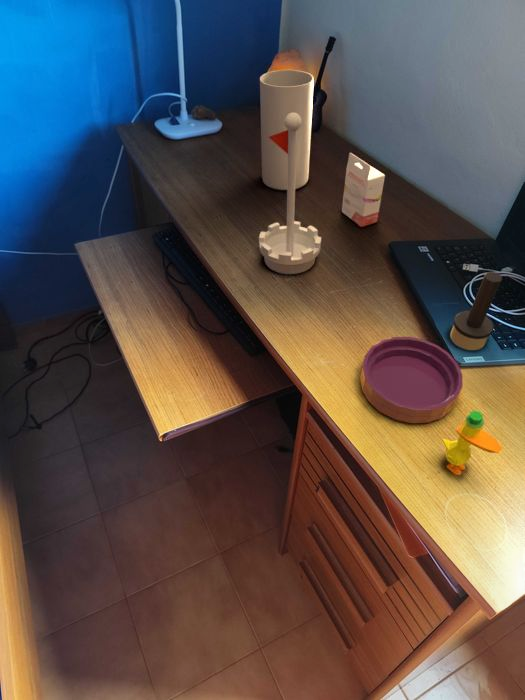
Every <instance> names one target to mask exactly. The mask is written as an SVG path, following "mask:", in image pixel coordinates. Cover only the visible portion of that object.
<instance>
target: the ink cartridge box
mask: <svg viewBox="0 0 525 700" xmlns="http://www.w3.org/2000/svg"><path fill="white" fill-rule="evenodd" d="M385 178H386V175H385V174H384V173H382V172H381V171H379V170H378V169H376V168H375V167H373V166H371V165H370V164H368V163H367V162H366V161H365V160H362V159H361V158H359V157H358V156H357V155H355V154H353V153H352V152H349V154H348V159H347V165H346V170H345V179H344V186H343V187H344V188H343V197H342V205H341V206H342V207H341V212H342V214H344V215H345V216H346V217H348V218H349V219H350V220H352V221H353V222H354V223H356V225H358V226H359V227H361V228H363V227H366V226H369V225H372V224H375V223H378V219H379V213H380V208H381V202H382V195H383V189H384V183H385Z"/></svg>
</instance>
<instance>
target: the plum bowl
mask: <svg viewBox="0 0 525 700" xmlns="http://www.w3.org/2000/svg"><path fill="white" fill-rule="evenodd" d="M463 381H464V379H463V373H462V370H461V368H460V366H459V363H458V362H457V361H456V360H455V359H454V358H453V356H452V355H451V354H450V353H449V352H448V351H446V350H445V349H444V348H442V347H440V345H438V344H435V343H432V342H430V341H428V340H425V339H423V338H417V337H413V336H393V337H389V338H386V339H382V340H380V341H378V342H377V343H375V344H374V345H372V346H371V347H370V348H369V349H368V351H367V352H366V353H365V355H364V358H363V363H362V367H361V373H360V377H359V383H360V387H361V391H362V393H363V394H364V396H365V398H366V399H367V401H368V403H369V404H370V405H372V406H373V407H374V408H375V409H376V410H377V411H379V412H380V413H382V414H384V415H386V416H387V417H390V418H391V419H394V420H395V421H400V422H405V423H409V424H427V423H431V422H434V421H437V420H440V419H442V418H444V417H445V416H446V415H447V414H448V413H450V412H451V411H452V410H453V408H454V406H455V405H456V404H455V403H456V401H457V399H458V398H459V395H460V393H461V391H462V390H463Z"/></svg>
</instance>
